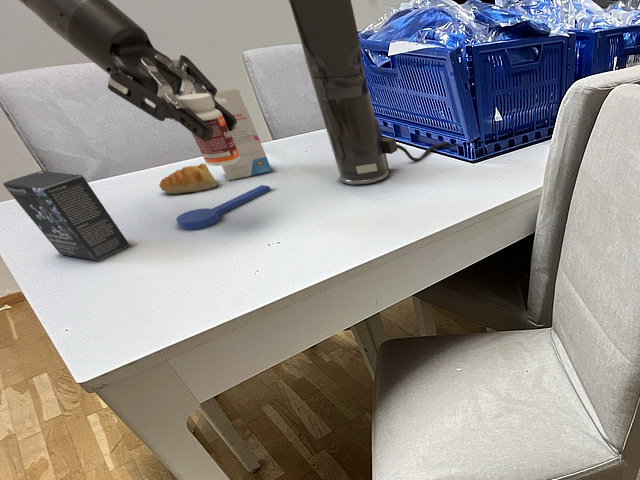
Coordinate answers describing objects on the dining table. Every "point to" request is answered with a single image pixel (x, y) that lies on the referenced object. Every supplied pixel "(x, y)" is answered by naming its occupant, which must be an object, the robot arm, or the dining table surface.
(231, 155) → the pill bottle
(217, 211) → the spoon
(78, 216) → the box
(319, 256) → the dining table surface
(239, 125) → the ink box
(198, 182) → the pastry
